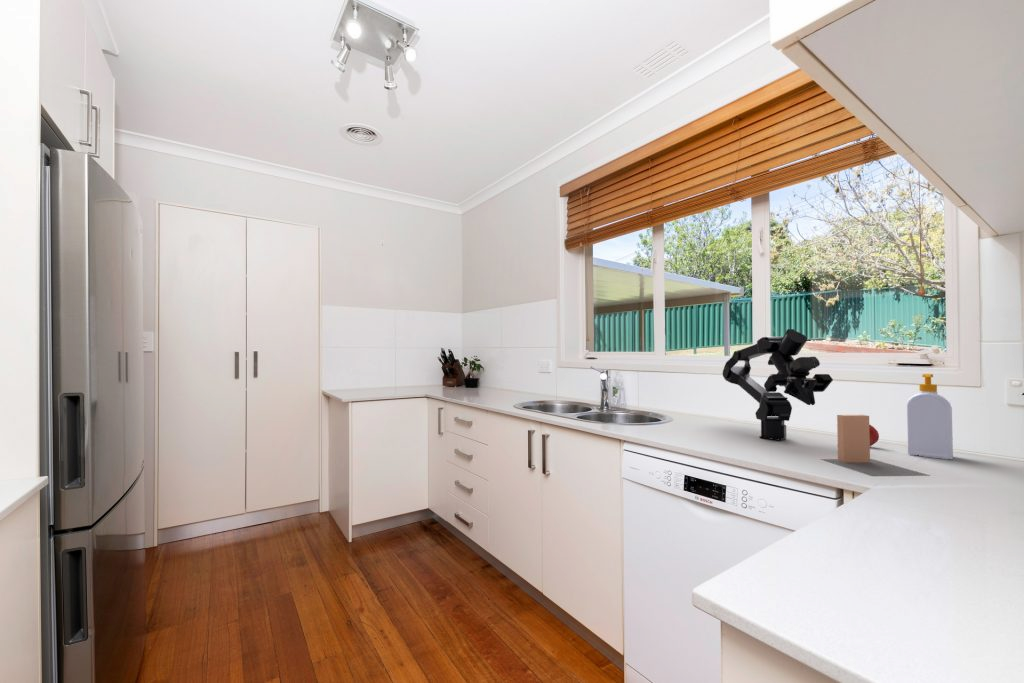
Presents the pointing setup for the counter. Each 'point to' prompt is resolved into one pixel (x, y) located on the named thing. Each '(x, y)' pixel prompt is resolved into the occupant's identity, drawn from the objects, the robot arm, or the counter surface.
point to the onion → (873, 435)
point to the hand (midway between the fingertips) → (812, 404)
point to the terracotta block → (853, 438)
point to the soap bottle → (929, 423)
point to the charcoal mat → (876, 468)
